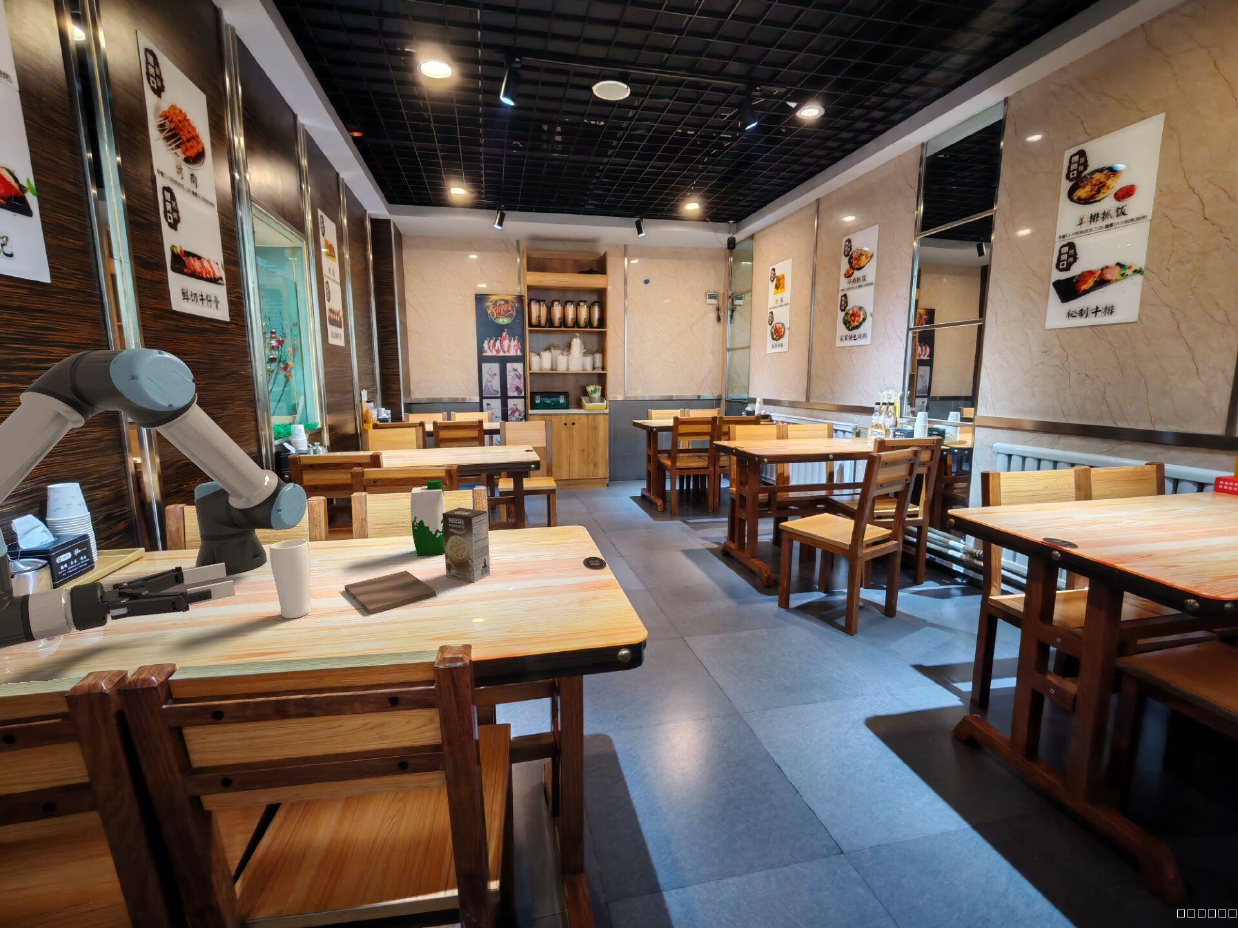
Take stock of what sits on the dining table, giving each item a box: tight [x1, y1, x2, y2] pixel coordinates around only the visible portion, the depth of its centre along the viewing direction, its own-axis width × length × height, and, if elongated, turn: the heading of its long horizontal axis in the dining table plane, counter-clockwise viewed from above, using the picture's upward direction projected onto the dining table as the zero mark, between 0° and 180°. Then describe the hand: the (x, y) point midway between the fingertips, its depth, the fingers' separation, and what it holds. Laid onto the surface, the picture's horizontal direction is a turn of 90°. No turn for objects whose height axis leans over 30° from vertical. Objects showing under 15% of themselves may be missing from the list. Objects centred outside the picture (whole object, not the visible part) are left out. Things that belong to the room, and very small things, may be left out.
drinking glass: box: [269, 538, 312, 619], centre depth 110 cm, size 7×7×15 cm
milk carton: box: [410, 479, 447, 558], centre depth 149 cm, size 9×9×20 cm
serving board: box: [344, 570, 437, 615], centre depth 121 cm, size 18×14×1 cm
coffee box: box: [442, 506, 491, 583], centre depth 130 cm, size 9×6×16 cm
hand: (229, 578), depth 103 cm, fingers open, 13 cm apart
